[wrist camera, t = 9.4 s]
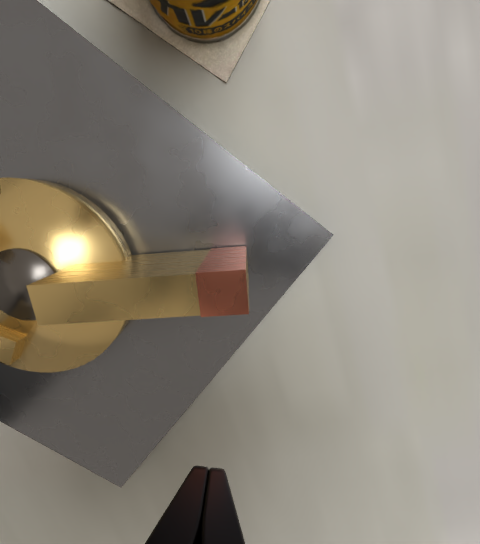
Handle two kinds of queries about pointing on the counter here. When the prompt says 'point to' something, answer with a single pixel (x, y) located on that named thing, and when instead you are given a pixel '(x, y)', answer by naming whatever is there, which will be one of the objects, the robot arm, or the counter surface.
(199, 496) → the robot arm
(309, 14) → the counter surface
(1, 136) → the base plate
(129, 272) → the brass lever handle
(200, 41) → the condiment
